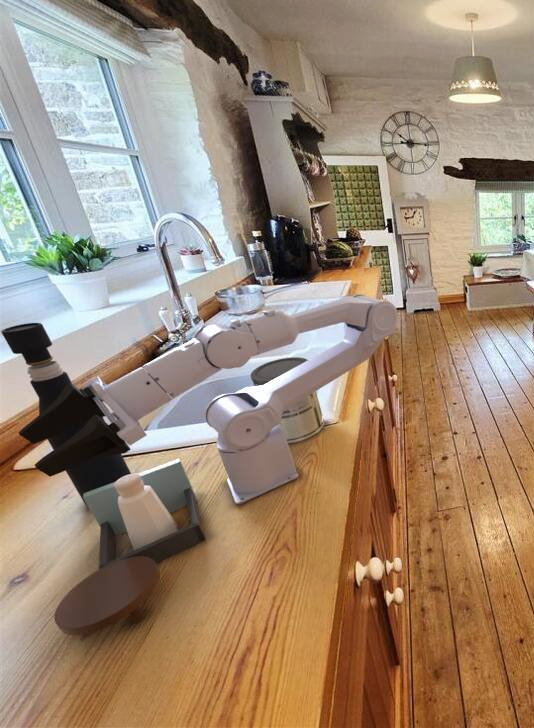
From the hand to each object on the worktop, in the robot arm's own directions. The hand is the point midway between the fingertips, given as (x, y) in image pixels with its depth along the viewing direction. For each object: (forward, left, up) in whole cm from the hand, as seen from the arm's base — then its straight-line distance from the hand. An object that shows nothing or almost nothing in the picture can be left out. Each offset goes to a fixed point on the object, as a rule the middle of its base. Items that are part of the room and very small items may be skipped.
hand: (33, 454), depth 49 cm
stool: (-2, +11, -19) cm, 22 cm away
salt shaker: (-6, 0, -19) cm, 20 cm away
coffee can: (-30, -15, -19) cm, 39 cm away
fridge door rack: (-6, 0, -19) cm, 20 cm away
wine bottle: (-1, -17, -19) cm, 25 cm away
